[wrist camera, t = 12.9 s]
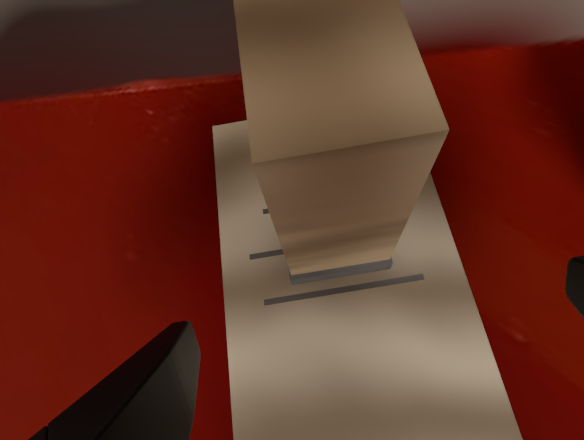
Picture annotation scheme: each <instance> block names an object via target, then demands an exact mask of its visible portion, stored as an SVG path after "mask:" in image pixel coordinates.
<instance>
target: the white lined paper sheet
mask: <svg viewBox="0 0 584 440" xmlns="http://www.w3.org/2000/svg"><path fill="white" fill-rule="evenodd" d="M212 127H213V142H214V157H215V171H216V186H217V201H218V216H219V231H220V245H221V260H222V275H223V290H224V305H225V319H226V334H227V349H228V364H229V379H230V393H231V408H232V423H233V438H234V440H523V439H522V437H521V434H520V431H519V428H518V425H517V422H516V419H515V416H514V413H513V411H512V408H511V405H510V402H509V399H508V396H507V393H506V390H505V387H504V384H503V382H502V379H501V376H500V373H499V370H498V367H497V364H496V361H495V358H494V356H493V353H492V350H491V347H490V344H489V341H488V338H487V335H486V332H485V329H484V327H483V324H482V321H481V318H480V315H479V312H478V309H477V306H476V303H475V301H474V298H473V295H472V292H471V289H470V286H469V283H468V280H467V277H466V274H465V272H464V269H463V266H462V263H461V260H460V257H459V254H458V251H457V248H456V246H455V243H454V240H453V237H452V234H451V231H450V228H449V225H448V222H447V219H446V217H445V214H444V211H443V208H442V205H441V202H440V199H439V196H438V193H437V191H436V188H435V185H434V182H433V179H432V176H431V173H429V175H428V178H427V180H426V182H425V184H424V186H423V188H422V191H421V193H420V195H419V197H418V199H417V202H416V204H415V206H414V208H413V210H412V212H411V215H410V217H409V219H408V221H407V223H406V225H405V228H404V230H403V232H402V234H401V236H400V239H399V241H398V243H397V245H396V247H395V249H394V252H393V254H392V256H391V257H392V261H393V264H392V266H391V268H390V269H387V270H380V271H374V272H368V273H362V274H356V275H350V276H344V277H338V278H332V279H325V280H319V281H313V282H307V283H301V284H295V285H292V284H291V282H290V277H289V270H288V265H287V262H286V259H285V256H284V253H283V250H282V248H281V245H280V242H279V239H278V236H277V233H276V230H275V228H274V225H273V222H272V219H271V216H270V213H269V211H268V208H267V205H266V202H265V199H264V196H263V193H262V191H261V188H260V185H259V182H258V179H257V176H256V174H255V171H254V168H253V165H252V159H251V150H250V141H249V133H248V124H247V120H245V121H239V122H234V123H228V124H222V125H217V126H212Z"/></svg>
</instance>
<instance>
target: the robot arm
mask: <svg viewBox="0 0 584 440" xmlns="http://www.w3.org/2000/svg"><path fill="white" fill-rule="evenodd" d="M565 291H566V295H567V297H568V299H569V300H570V302H571V303H572V304H573V305H574V306H575V308H576V309H577V310H578V311H579V313H580V314H581V315H582V316H583V318H584V256H579V257H574V258H571V259H570V260H569V262H568V265H567V275H566V286H565ZM199 366H200V349H199V345H198V342H197V339H196V336H195V332H194V329H193V326H192V324H191V322H189V321H181V322H175V323H172V324H171V325H169V326H168V327H167V328H166V329H164V330H163V331H162V332H161V333H160V334H158V335H157V336H156V337H155V338H153V339H152V340H151V341H150V342H148V343H147V344H146V345H145V346H143V347H142V348H141V349H140V350H139V351H137V352H136V353H135V354H134V355H132V356H131V357H130V358H129V359H127V360H126V361H125V362H124V363H122V364H121V365H120V366H119V367H118V368H116V369H115V370H114V371H113V372H111V373H110V374H109V375H108V376H106V377H105V378H104V379H103V380H101V381H100V382H99V383H98V384H97V385H95V386H94V387H93V388H92V389H90V390H89V391H88V392H87V393H85V394H84V395H83V396H82V397H80V398H79V399H78V400H77V401H76V402H74V403H73V404H72V405H71V406H69V407H68V408H67V409H66V410H64V411H63V412H62V413H61V414H59V415H58V416H57V417H56V418H55V419H53V420H52V421H51V422H50V423H49V424H48V427H47V426H45V427H43V428H42V429H41V430H40V431H38V432H37V433H36V434H35V435H33V436H32V437H31V438H30V439H29V440H189V437H190V433H191V428H192V423H193V418H194V411H195V402H196V393H197V384H198V375H199Z"/></svg>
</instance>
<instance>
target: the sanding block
mask: <svg viewBox="0 0 584 440" xmlns="http://www.w3.org/2000/svg"><path fill="white" fill-rule="evenodd" d="M233 1H234V10H235V18H236V28H237V36H238V45H239V54H240V62H241V71H242V80H243V89H244V98H245V106H246V115H247V124H248V133H249V141H250V150H251V159H252V165H253V168H254V171H255V174H256V176H257V179H258V182H259V185H260V188H261V191H262V193H263V196H264V199H265V202H266V205H267V208H268V211H269V213H270V216H271V219H272V222H273V225H274V228H275V230H276V233H277V236H278V239H279V242H280V245H281V248H282V250H283V253H284V256H285V259H286V262H287V265H288V270H289V277H290V282H291V284H292V285H295V284H301V283H307V282H313V281H319V280H325V279H332V278H338V277H344V276H350V275H356V274H362V273H368V272H374V271H380V270H387V269H390V268H391V266H392V264H393V261H392V257H391V256H392V254H393V252H394V249H395V247H396V245H397V243H398V241H399V239H400V236H401V234H402V232H403V230H404V228H405V225H406V223H407V221H408V219H409V217H410V215H411V212H412V210H413V208H414V206H415V204H416V202H417V199H418V197H419V195H420V193H421V191H422V188H423V186H424V184H425V182H426V180H427V178H428V175H429V173H430V171H431V169H432V167H433V165H434V162H435V160H436V158H437V156H438V154H439V151H440V149H441V147H442V145H443V143H444V141H445V138H446V136H447V134H448V132H449V127H448V125H447V122H446V119H445V117H444V114H443V112H442V109H441V107H440V104H439V101H438V99H437V96H436V94H435V91H434V89H433V86H432V84H431V81H430V78H429V76H428V73H427V71H426V68H425V66H424V63H423V60H422V58H421V55H420V53H419V51H418V48H417V45H416V43H415V40H414V37H413V35H412V32H411V30H410V27H409V25H408V22H407V19H406V17H405V14H404V12H403V9H402V7H401V4H400V2H399V0H233Z"/></svg>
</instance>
